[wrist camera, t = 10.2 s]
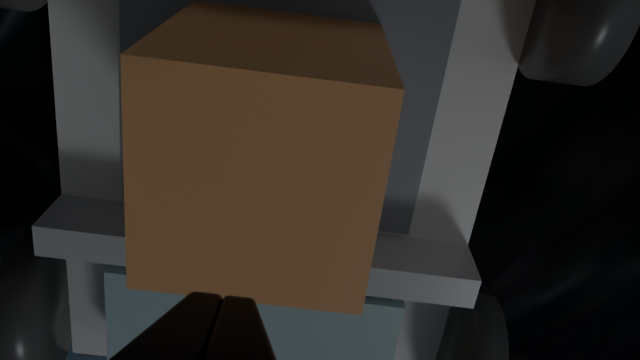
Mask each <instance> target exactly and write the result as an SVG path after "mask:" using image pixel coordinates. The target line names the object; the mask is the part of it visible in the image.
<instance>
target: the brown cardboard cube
mask: <svg viewBox="0 0 640 360" xmlns="http://www.w3.org/2000/svg"><path fill="white" fill-rule="evenodd" d="M120 65H121V102H122V139H123V176H124V213H125V250H126V288H127V289H136V290H144V291H153V292H162V293H171V294H179V295H188V294H189V293H191V292H194V291H199V292H207V293H215V294H220V295H221V296H222V299H223V298H224V297H225V296H227V295H232V296H241V297H249V298H252V299H254V301H255V302H256V303H258V304H267V305H276V306H284V307H293V308H302V309H311V310H319V311H328V312H337V313H346V314H354V315H362V312H363V307H364V302H365V296H366V291H367V286H368V281H369V275H370V270H371V265H372V260H373V255H374V249H375V244H376V239H377V234H378V228H379V223H380V218H381V213H382V207H383V202H384V197H385V192H386V186H387V181H388V176H389V171H390V165H391V160H392V155H393V150H394V144H395V139H396V134H397V129H398V124H399V118H400V113H401V108H402V103H403V97H404V92H405V89H404V86H403V83H402V80H401V77H400V75H399V72H398V69H397V66H396V63H395V61H394V58H393V55H392V52H391V49H390V47H389V44H388V41H387V38H386V35H385V32H384V30H383V27H382V24H377V23H369V22H361V21H354V20H346V19H338V18H330V17H323V16H315V15H307V14H299V13H292V12H284V11H276V10H268V9H261V8H253V7H245V6H237V5H230V4H222V3H214V2H206V1H199V0H195V1H193V2H192V3H191V4H189V5H188V6H186V7H185V8H184V9H182V10H181V11H179V12H178V13H177V14H175V15H174V16H172V17H171V18H170V19H168V20H167V21H165V22H164V23H163V24H161V25H160V26H159V27H157V28H156V29H154V30H153V31H152V32H150V33H149V34H147V35H146V36H145V37H143V38H142V39H140V40H139V41H138V42H136V43H135V44H133V45H132V46H131V47H129V48H128V49H126V50H125V51H124V52H122V53H121V54H120Z"/></svg>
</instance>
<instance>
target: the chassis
mask: <svg viewBox="0 0 640 360" xmlns="http://www.w3.org/2000/svg"><path fill="white" fill-rule="evenodd" d="M193 1H195V0H0V8H6V9H13V10H21V11H35V10H38V9H39V8H41V7H42V6H44V5H45V4H46V3H47V2H48V12H49V26H50V40H51V54H52V68H53V82H54V96H55V110H56V124H57V138H58V152H59V166H60V180H61V195H60V196H59V197H58V198H57V199H56V201H55V202H54V203H53V204H52V205H51V206H50V207H49V208H48V209H47V210H46V211H45V212H44V213H43V214H42V216H41V217H40V218H39V219H38V220H37V221H36V222H35V223H34V224H33V225H32V234H33V239H24V240H22V241H20V242H19V243H17V244H16V245H15V246H14V247H13V248H12V249H11V250H10V251H9V252H8V253H7V254H6V256H5V257H4V259H3V260H2V262H1V264H0V360H64V359H65V357H66V355H67V354H68V352H69V349H70V347H71V345H72V348H73V352H74V353H83V354H91V355H100V356H107V360H109V359H110V358H111V357H112V356H114V355H115V354H116V353H117V352H119V351H120V350H121V349H122V348H123V347H125V346H126V345H127V344H128V343H130V342H131V341H132V340H133V339H134V338H136V337H137V336H138V335H139V334H140V333H142V332H143V331H144V330H145V329H147V328H148V327H149V326H150V325H151V324H153V323H154V322H155V321H156V320H158V319H159V318H160V317H161V316H162V315H164V314H165V313H166V312H167V311H169V310H170V309H171V308H172V307H173V306H175V305H176V304H177V303H178V302H180V301H181V300H182V299H183V298H184V297H186V296H187V295H179V294H171V293H162V292H153V291H144V290H136V289H127V288H126V250H125V213H124V176H123V139H122V102H121V65H120V54H121V53H122V52H124V51H125V50H126V49H128V48H129V47H131V46H132V45H133V44H135V43H136V42H138V41H139V40H140V39H142V38H143V37H145V36H146V35H147V34H149V33H150V32H152V31H153V30H154V29H156V28H157V27H159V26H160V25H161V24H163V23H164V22H165V21H167V20H168V19H170V18H171V17H172V16H174V15H175V14H177V13H178V12H179V11H181V10H182V9H184V8H185V7H186V6H188V5H189V4H191V3H192V2H193ZM199 1H206V2H214V3H222V4H230V5H237V6H245V7H253V8H261V9H268V10H276V11H284V12H292V13H299V14H307V15H315V16H323V17H330V18H338V19H346V20H354V21H361V22H369V23H377V24H382V27H383V30H384V32H385V35H386V38H387V41H388V44H389V47H390V49H391V52H392V55H393V58H394V61H395V63H396V66H397V69H398V72H399V75H400V77H401V80H402V83H403V86H404V89H405V92H404V97H403V103H402V108H401V113H400V118H399V124H398V129H397V134H396V139H395V144H394V150H393V155H392V160H391V165H390V171H389V176H388V181H387V186H386V192H385V197H384V202H383V207H382V213H381V218H380V223H379V228H378V234H377V239H376V244H375V249H374V255H373V260H372V265H371V270H370V275H369V281H368V286H367V291H366V296H365V302H364V307H363V312H362V315H354V314H346V313H337V312H328V311H319V310H311V309H302V308H293V307H284V306H276V305H267V304H258V303H256V305H257V307H258V310H259V313H260V316H261V318H262V321H263V324H264V326H265V329H266V332H267V335H268V337H269V340H270V343H271V346H272V348H273V351H274V354H275V356H276V359H277V360H509V345H508V334H507V327H506V322H505V318H504V314H503V311H502V308H501V306H500V304H499V302H498V301H497V299H496V298H495V297H494V296H492V295H489V294H480V293H478V292H479V289H480V285H481V282H482V281H481V278H480V275H479V273H478V270H477V267H476V265H475V262H474V260H473V257H472V254H471V252H470V249H469V246H468V242H469V239H470V235H471V232H472V228H473V225H474V221H475V217H476V214H477V210H478V207H479V203H480V199H481V196H482V192H483V189H484V185H485V182H486V178H487V174H488V171H489V167H490V164H491V160H492V157H493V153H494V149H495V146H496V142H497V139H498V135H499V132H500V128H501V124H502V121H503V117H504V114H505V110H506V106H507V103H508V99H509V96H510V92H511V89H512V85H513V81H514V78H515V74H516V71H517V67H518V66H519V68H520V70H521V72H522V74H523V75H524V76H525V77H527V78H529V79H535V80H543V81H550V82H558V83H565V84H572V85H580V86H590V85H593V84H595V83H597V82H599V81H601V80H602V79H603V78H604V77H606V76H607V75H608V74H609V73H610V72H611V71H612V70H613V69H614V68H615V66H616V65H617V64H618V62H619V61H620V60H621V58H622V57H623V55H624V54H625V52H626V51H627V49H628V47H629V45H630V44H631V42H632V40H633V38H634V36H635V34H636V32H637V30H638V27H639V25H640V0H199Z"/></svg>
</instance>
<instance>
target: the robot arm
mask: <svg viewBox="0 0 640 360" xmlns="http://www.w3.org/2000/svg"><path fill="white" fill-rule="evenodd" d="M109 360H277V359H276V356H275V354H274V351H273V348H272V346H271V343H270V340H269V337H268V335H267V332H266V329H265V326H264V324H263V321H262V318H261V316H260V313H259V310H258V307H257V305H256V302H255V301H254V299H252V298H249V297H241V296H232V295H227V296H225V297H224V298H223V299H222V296H221V295H220V294H215V293H207V292H199V291H194V292H191V293H189V294H188V295H187V296H186V297H184V298H183V299H182V300H181V301H180V302H178V303H177V304H176V305H175V306H173V307H172V308H171V309H170V310H169V311H167V312H166V313H165V314H164V315H162V316H161V317H160V318H159V319H158V320H156V321H155V322H154V323H153V324H151V325H150V326H149V327H148V328H147V329H145V330H144V331H143V332H142V333H140V334H139V335H138V336H137V337H136V338H134V339H133V340H132V341H131V342H130V343H128V344H127V345H126V346H125V347H123V348H122V349H121V350H120V351H119V352H117V353H116V354H115V355H114V356H112V357H111V358H110V359H109Z"/></svg>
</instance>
